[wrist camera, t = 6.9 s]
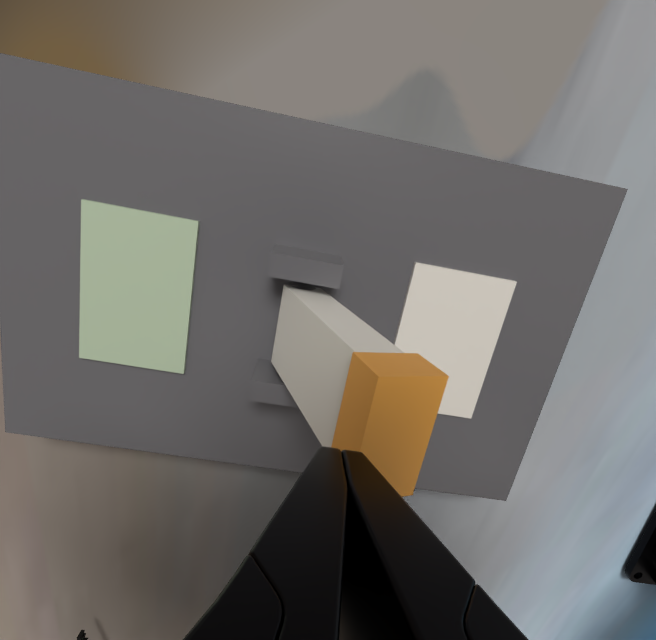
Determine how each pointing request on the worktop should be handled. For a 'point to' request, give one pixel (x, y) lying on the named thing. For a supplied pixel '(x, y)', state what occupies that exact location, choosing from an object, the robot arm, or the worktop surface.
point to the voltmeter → (81, 635)
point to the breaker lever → (356, 384)
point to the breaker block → (269, 272)
